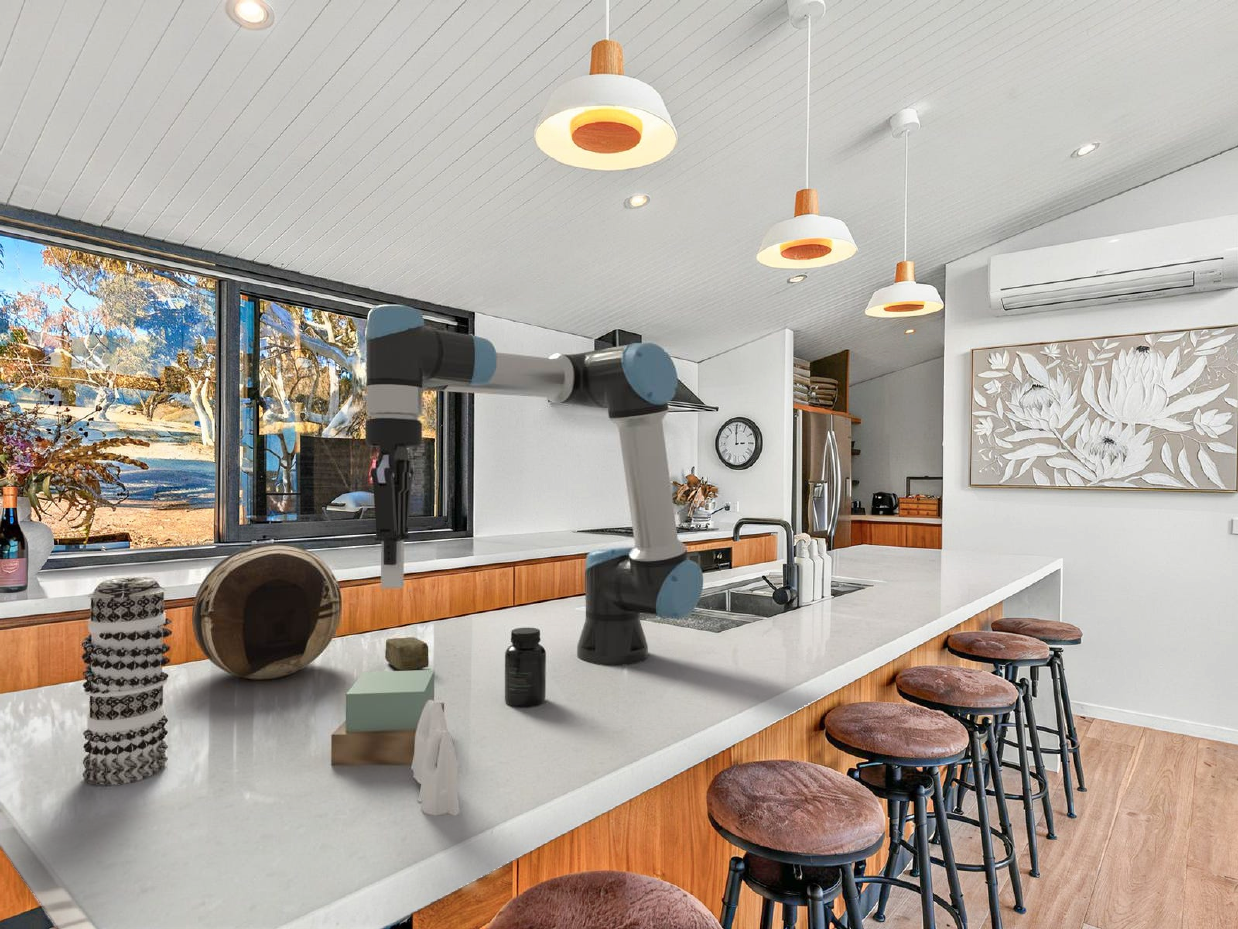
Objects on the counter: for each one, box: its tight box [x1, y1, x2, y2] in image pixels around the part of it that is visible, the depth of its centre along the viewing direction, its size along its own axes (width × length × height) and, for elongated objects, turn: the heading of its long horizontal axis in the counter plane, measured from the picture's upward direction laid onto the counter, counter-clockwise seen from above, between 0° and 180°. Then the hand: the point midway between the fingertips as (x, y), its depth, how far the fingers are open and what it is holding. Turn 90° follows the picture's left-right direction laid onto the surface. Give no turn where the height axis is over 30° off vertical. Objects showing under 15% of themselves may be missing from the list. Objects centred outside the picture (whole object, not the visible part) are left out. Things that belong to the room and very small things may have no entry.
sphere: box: [191, 542, 343, 681], centre depth 130 cm, size 25×25×25 cm
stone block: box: [384, 636, 430, 671], centre depth 135 cm, size 6×12×5 cm, turn 33°
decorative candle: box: [81, 576, 173, 787], centre depth 87 cm, size 9×9×25 cm
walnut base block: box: [330, 702, 445, 766], centre depth 96 cm, size 12×12×5 cm
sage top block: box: [345, 669, 435, 732], centre depth 96 cm, size 10×10×5 cm
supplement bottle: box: [504, 627, 547, 709], centre depth 117 cm, size 7×7×12 cm
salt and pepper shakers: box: [410, 700, 461, 817], centre depth 82 cm, size 12×4×11 cm, turn 23°
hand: (392, 587), depth 96 cm, fingers closed
